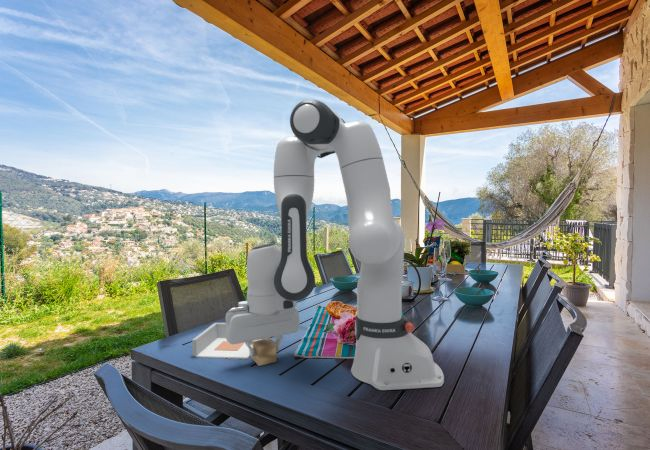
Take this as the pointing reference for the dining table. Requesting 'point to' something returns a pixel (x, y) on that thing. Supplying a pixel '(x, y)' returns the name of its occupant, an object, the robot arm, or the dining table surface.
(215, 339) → the corner arena
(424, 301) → the dining table surface
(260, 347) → the oak cube
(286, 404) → the dining table surface
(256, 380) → the dining table surface
